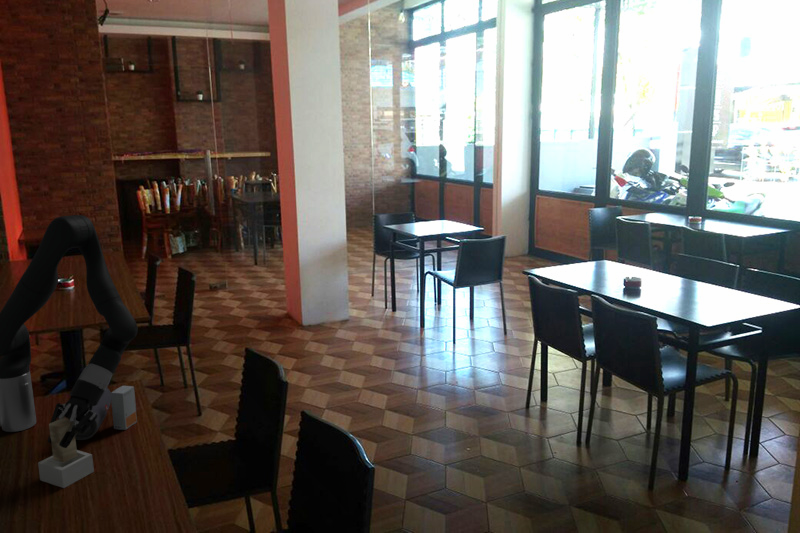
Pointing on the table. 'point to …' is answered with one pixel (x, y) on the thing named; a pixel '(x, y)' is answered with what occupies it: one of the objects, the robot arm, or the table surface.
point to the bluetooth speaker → (101, 411)
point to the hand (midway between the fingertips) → (56, 444)
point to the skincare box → (123, 407)
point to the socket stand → (66, 469)
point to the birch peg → (57, 435)
